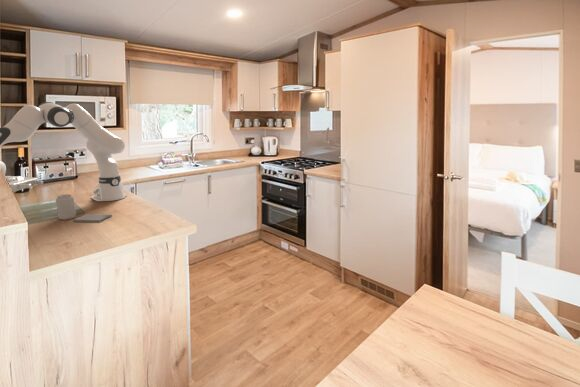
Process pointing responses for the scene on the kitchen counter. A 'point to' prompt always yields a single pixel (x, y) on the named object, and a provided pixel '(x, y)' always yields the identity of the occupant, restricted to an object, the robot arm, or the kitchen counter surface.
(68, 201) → the can
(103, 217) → the slate tile
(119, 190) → the robot arm
